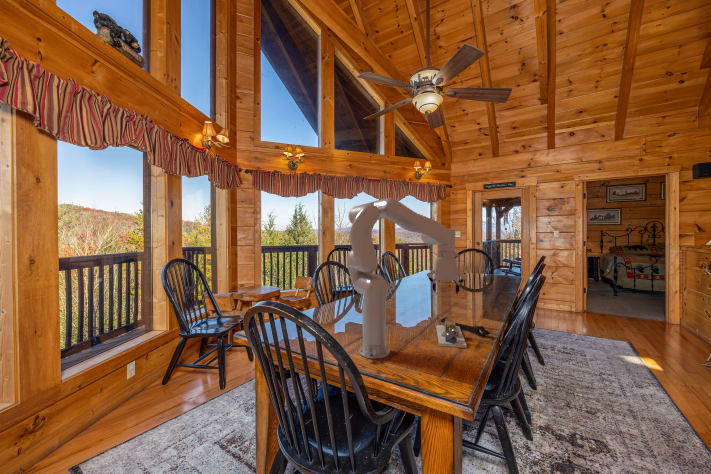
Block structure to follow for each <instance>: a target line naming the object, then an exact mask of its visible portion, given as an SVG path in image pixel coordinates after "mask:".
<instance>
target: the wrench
mask: <svg viewBox="0 0 711 474" xmlns="http://www.w3.org/2000/svg"><path fill="white" fill-rule="evenodd" d="M446 318H449V317H448V316H447V317H443V318H441V319H440V322H441V323H443V324H444V323H445V319H446ZM455 324H456V326H459V327H460V330H464V331H468V332H470V333H473V334H475V335H476V336H477V337H480V338H485V336H488V335H490V334H491V332H489V330H486V328H485V327H484V326H483V325H480V326H479V325H478V326H471V325H466V324H462V323H458V322H455ZM480 331H481V332H480Z"/></svg>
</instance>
